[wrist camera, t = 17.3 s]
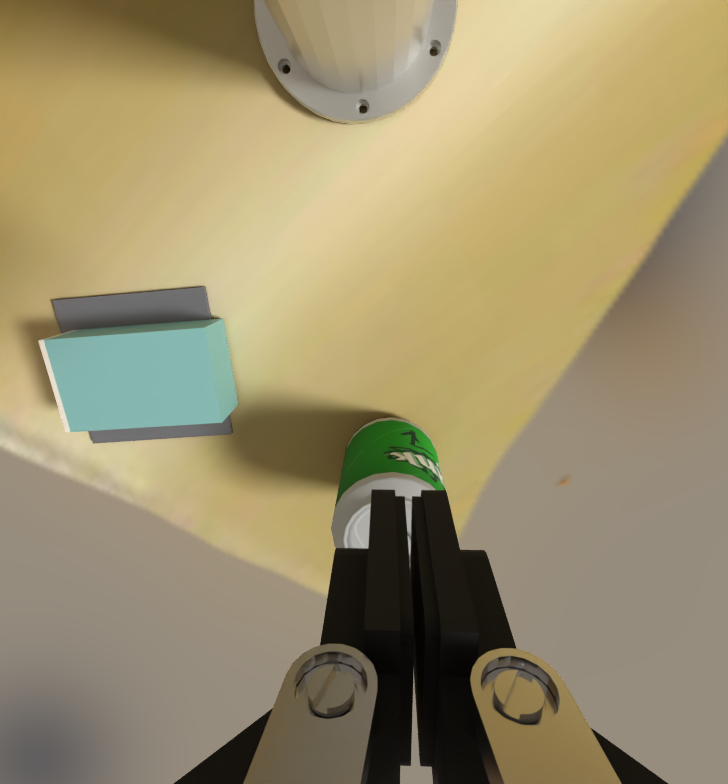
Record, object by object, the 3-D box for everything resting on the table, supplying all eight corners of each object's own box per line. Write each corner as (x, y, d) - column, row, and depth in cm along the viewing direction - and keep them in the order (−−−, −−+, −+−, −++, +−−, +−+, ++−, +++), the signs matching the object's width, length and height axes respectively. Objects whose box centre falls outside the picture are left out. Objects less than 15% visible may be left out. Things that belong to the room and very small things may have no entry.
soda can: (361, 503, 41) (351, 605, 30) (333, 426, 39) (311, 503, 28) (445, 481, 40) (469, 578, 29) (422, 401, 38) (437, 471, 27)
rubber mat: (55, 299, 37) (52, 300, 36) (205, 286, 36) (203, 287, 35) (95, 441, 40) (93, 443, 40) (232, 432, 40) (231, 434, 39)
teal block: (223, 318, 36) (73, 329, 37) (204, 327, 32) (38, 340, 33) (238, 404, 38) (96, 413, 39) (222, 422, 34) (65, 432, 35)
